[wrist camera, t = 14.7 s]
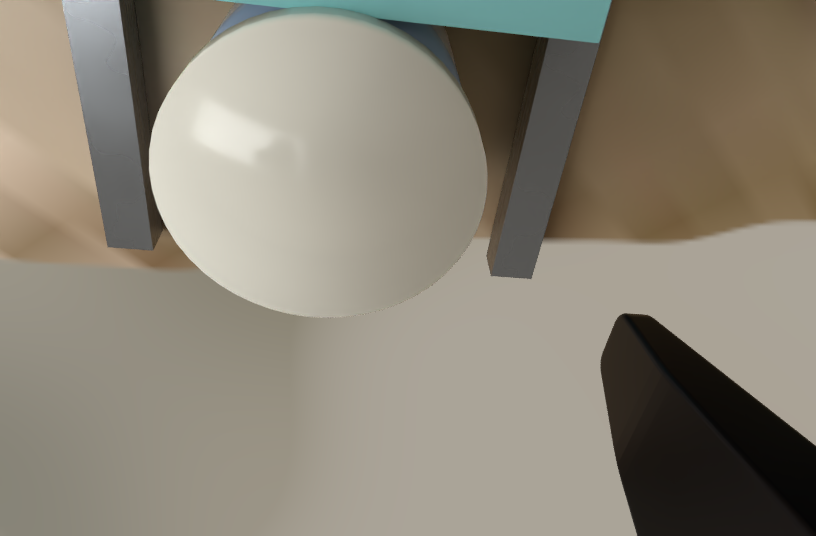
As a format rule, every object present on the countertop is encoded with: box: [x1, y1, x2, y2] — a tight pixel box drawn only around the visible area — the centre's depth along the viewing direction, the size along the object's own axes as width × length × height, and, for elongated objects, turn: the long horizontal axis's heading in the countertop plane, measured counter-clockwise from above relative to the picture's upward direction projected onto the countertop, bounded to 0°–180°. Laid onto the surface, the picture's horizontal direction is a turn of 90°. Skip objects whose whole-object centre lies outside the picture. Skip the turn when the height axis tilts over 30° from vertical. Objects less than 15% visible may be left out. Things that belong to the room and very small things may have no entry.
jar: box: [149, 3, 488, 318], centre depth 14 cm, size 6×6×5 cm
